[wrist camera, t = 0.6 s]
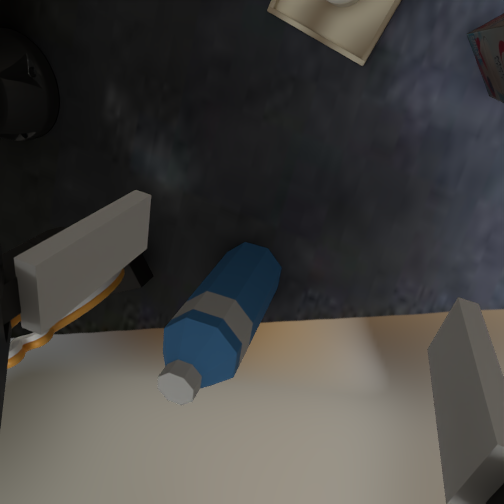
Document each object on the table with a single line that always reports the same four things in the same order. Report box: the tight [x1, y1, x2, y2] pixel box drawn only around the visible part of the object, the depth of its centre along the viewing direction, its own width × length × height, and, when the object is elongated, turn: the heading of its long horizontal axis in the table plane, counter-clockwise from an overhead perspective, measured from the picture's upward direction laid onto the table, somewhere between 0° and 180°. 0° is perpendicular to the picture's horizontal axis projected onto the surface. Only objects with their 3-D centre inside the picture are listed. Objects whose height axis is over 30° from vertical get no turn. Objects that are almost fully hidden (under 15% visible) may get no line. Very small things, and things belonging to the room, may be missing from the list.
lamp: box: [7, 253, 153, 369], centre depth 54 cm, size 17×9×32 cm, turn 112°
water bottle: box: [158, 242, 282, 405], centre depth 50 cm, size 9×9×25 cm
